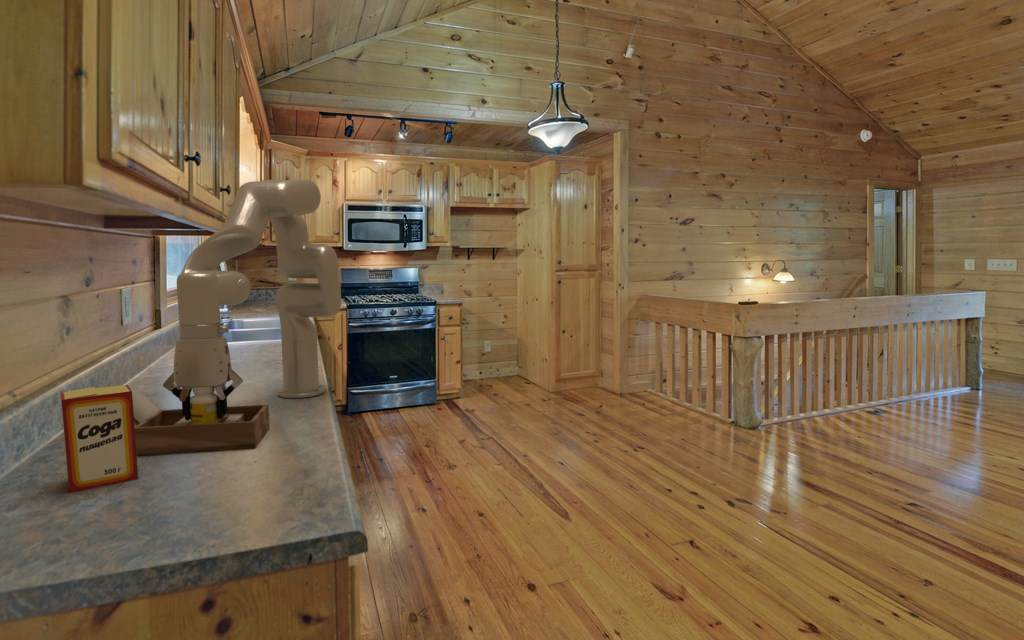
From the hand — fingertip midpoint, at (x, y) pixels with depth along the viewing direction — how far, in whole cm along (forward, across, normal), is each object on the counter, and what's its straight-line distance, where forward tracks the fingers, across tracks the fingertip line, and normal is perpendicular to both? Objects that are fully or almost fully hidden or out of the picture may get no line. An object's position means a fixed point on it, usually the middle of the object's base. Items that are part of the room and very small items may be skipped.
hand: (205, 416), depth 118 cm
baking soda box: (+5, +11, +19) cm, 23 cm away
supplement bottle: (+3, 0, 0) cm, 3 cm away
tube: (+6, +19, -20) cm, 29 cm away
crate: (+5, 0, 0) cm, 5 cm away
